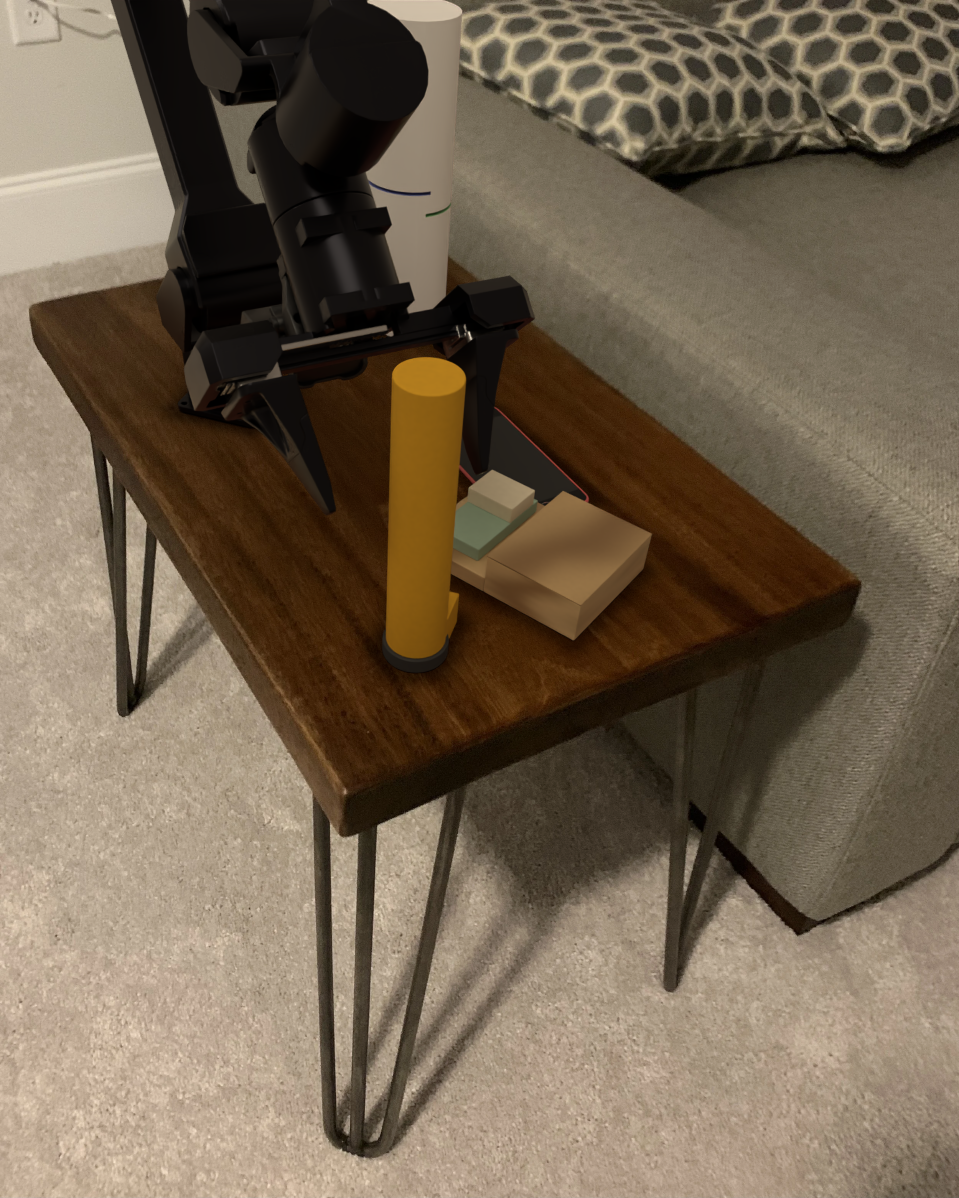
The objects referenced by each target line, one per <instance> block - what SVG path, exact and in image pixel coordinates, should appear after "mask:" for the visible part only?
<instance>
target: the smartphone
mask: <svg viewBox="0 0 959 1198" xmlns="http://www.w3.org/2000/svg"><path fill="white" fill-rule="evenodd" d="M491 470H494V471H496V472H498V473H500V474H502V475H504V476H506V477H508V478H510V479H512V480H514V481H516V482H519V483H521V484H523V485H525V486H527V487H529V488H531V489H533V490H535V494H534V499H536V500H537V501H538V503H540V504H542V505H544V506H546V505H547V504H548V503H550V502H551V501H552V500H553V499H554V498H555V497H557V496H558V495H559V494H560V493H561V492H562V491H564V492H566V493H568V494H570V495H573V496H575V497H577V498H579V499H581V500H583V501H585V502H587V503H589V501H590V498H589V495H588V494H587V492H585V491H584V490H583V489H582V488H581V487H580V486H579V485H578V484H577V483H576V482H574V480H573V479H571V477H570V476H569V475H568V474H567V473H565V472H564V471H563V470H562V468H560V467H559V466H558V465H557V464H556V463H555V462H554V461H553V460H552V459H551V458H550V457H549V456H548V455H547V454H546V453H545V452H544V451H543V450H542V449H540V447H539V446H538V445H537V444H535V443H534V442H533V440H531V439H530V437H528V435H526V434H525V433H524V432H523V431H522V430H521V429H520V428H519V427H518V426H517V425H516V424H515V423H513V421H512V420H511V419H509V418H508V417H507V415H506V414H505V413H504V412H502V411H501V410H500V409H499V408H497V407H495V406H494V417H493V427H492V437H491V446H490V456H489V466H488V470H487V472H485V473H483V474H480V475H476V474H475V473H474V471H473V468H472V466H471V463H470V460H469V458H468V455H467V453H466V449H465V445H464V442H463V438H462V439H461V451H460V464H459V471H460V472H461V473H462V474H463V475H464V476H465V477H466V478H467V479H468V481H470V483H471V484H472V485H473V484H474V483H475V482H477V481H478V480H479V479H481V478H482V477H483V476H485V475H486V474H487V473H489V472H490V471H491Z"/></svg>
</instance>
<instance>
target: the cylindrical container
mask: <svg viewBox="0 0 959 1198" xmlns="http://www.w3.org/2000/svg"><path fill="white" fill-rule="evenodd" d="M367 2H368V3H370V4H373V5H375V6H377V7H379V8H381V9H384V10H386V11H387V12H389V13H390V14H391V15H393V16H394V17H396V18H397V19H398V20H399V21H400V22H401V23H402V24H403V25H404V26H405V27H406V28H407V29H408V30H409V31H410V33H411V34H412V36H413V37H414V39H415V40H416V41H418V42H420V44H421V45H422V48H423V50H424V53H425V55H426V60H427V65H428V70H429V74H428V86H427V90H426V93H425V96H424V98H423V100H422V101H421V103H420V104H419V106H418V107H417V109H416V110H415V112H414V113H413V114H412V116H411V117H410V119H409V120H408V121H407V123H406V124H405V126H404V127H403V128H402V130H401V131H400V133H399V134H398V135H397V137H396V138H395V140H394V141H393V142H392V144H391V145H390V147H389V148H388V149H387V151H386V152H385V154H384V155H383V156H382V158H381V159H380V161H379V162H378V163H377V164H376V165H375V166H374V167H373V168H371V169H370V170H369V171H367V172H366V175H367V178H368V181H369V184H370V188H371V191H372V194H373V198H374V201H375V204H376V207H377V208H379V207H386V206H387V209H388V213H389V216H390V219H391V223H392V226H391V227H390V228H389V230H388V231H387V232H386V233H385V237H386V240H387V243H388V247H389V250H390V253H391V257H392V260H393V263H394V266H395V270H396V273H397V276H398V280H399V283H405V282H410V285H411V289H412V292H413V295H414V299H415V301H414V302H413V303H412V304H411V305H410V306H409V307H408V308H407V309H408V313H413V312H418V311H423V310H429V309H433V308H434V307H435V306H436V305H437V304H438V303H439V302H440V301H441V300H442V299H443V298H444V297H445V296H446V295H447V282H448V281H447V279H448V262H449V244H450V229H451V213H452V198H453V197H452V195H453V178H454V177H453V176H454V162H455V161H454V159H455V142H456V125H457V111H458V110H457V108H458V107H457V106H458V93H459V73H460V59H461V58H460V56H461V40H462V25H463V24H462V22H463V9H462V8H461V7H460V6H458V5H457V4H455V3H454V2H450V1H447V0H367ZM385 336H389V337H391V336H393V331H391V332H389V333H388V334H386V335H385Z"/></svg>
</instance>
